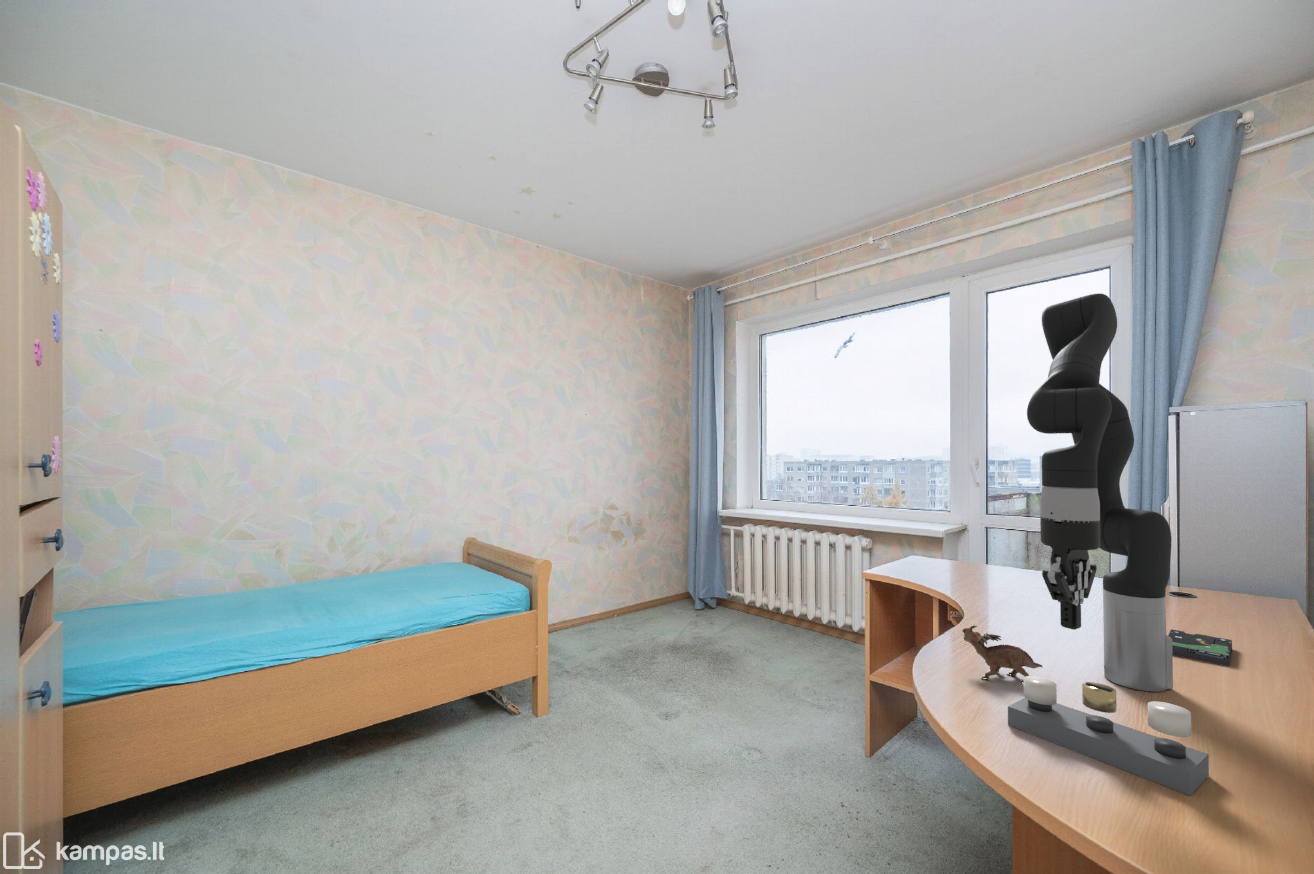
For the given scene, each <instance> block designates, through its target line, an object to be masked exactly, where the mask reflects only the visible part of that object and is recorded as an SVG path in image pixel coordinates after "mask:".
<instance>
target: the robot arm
mask: <svg viewBox="0 0 1314 874" xmlns="http://www.w3.org/2000/svg"><path fill="white" fill-rule="evenodd" d="M1041 326H1042V330H1043V335H1044V338H1045V341H1046V345H1047V347H1048V350H1049V354H1050V356H1051V359H1052V362H1051V364H1050V366H1049V371H1048V375H1047V379H1045V380H1044V381H1043V383H1041V385H1040V386H1039V387H1038V388H1037V389H1036V390H1035V391H1034V393H1033V394H1032V396H1031V397H1030V399H1029V401H1028V405H1027V408H1026V417H1027V421H1028V423H1029V425H1030V426H1031V427H1032V429H1034V430H1035V431H1037V432H1038V433H1042V434H1048V435H1050V434H1054V435H1055V434H1071V437H1072V440H1073V445H1070V446H1067V447H1060V448H1054V449H1049V450H1046V451H1045V452H1044V453H1043V454H1042V456H1041V493H1040V499H1039V500H1040V501H1039V503H1040V504H1039V512H1040V515H1039V516H1040V524H1039V525H1040V542H1041V544H1042V545H1044V546H1047V547H1050V548H1051V555H1050V559H1049V564H1050V565H1049V566H1050V569H1049V570H1048V569H1043V570H1042V573H1041V576H1042V578H1043V580H1044V583H1045V585H1046V587H1047V590H1048V592H1049V595H1050V597H1051V599H1052V600H1053V601H1057V602H1058V603H1060V607H1059V608H1060V626H1061V627H1062V628H1066V629H1070V630H1073V631H1074V630H1075V631H1076V630H1077V629H1080V628H1082V605H1083V604H1084V600H1085V599H1089V597H1090V596H1089V595H1090V593H1091V589H1092V586H1093V583H1094V579H1095V576H1096V572H1097V570H1098V567H1097V565H1096V564H1093V563H1091V561H1090V555H1089V551H1094V550H1098V549H1101V550H1102V551H1104V552H1107V553H1110V554H1114V555H1119V556H1125V557H1127V561H1126V567H1125V568H1124V569H1122V570H1120V571H1119V570H1118V571H1112V572H1107V573H1105V574H1104V575H1103V577H1102V604H1103V605H1102V606H1103V607H1102V608H1103V609H1102V610H1103V613H1102V614H1103V616H1102V619H1103V622H1102V623H1103V673H1104V677H1105V679H1106V680H1108V681H1110V682H1112V683H1114V684H1117V685H1119V686H1122V687H1125V688H1130V689H1133V690H1138V691H1145V692H1156V693H1157V692H1165V691H1166V690H1174V673H1173V672H1174V669H1173V667H1174V663H1173V662H1174V661H1173V656H1174V655H1173V654H1172V638H1171V637H1169V636H1168V635H1167V617H1166V616H1167V607H1166V606H1167V605H1166V591H1167V586H1168V583H1169V581H1170V577H1171V576H1170V575H1171V559H1172V558H1171V557H1172V556H1171V555H1172V531H1171V528H1170V524H1169V522H1168V520H1167V519H1166V517H1165V516H1163V515H1162V514H1161V513H1158V512H1157V511H1152V510H1146V509H1145V510H1144V509H1135V508H1126V507H1125V506H1124V505H1125V504H1124V503H1123V499H1122V493H1121V487H1120V486H1121V485H1120V482H1121V475H1123V471H1124V469H1125V467H1126V465H1127V464H1128V461H1129V460H1130V457H1131V455H1132V452H1133V449H1134V445H1135V436H1134V432H1133V427H1132V423H1131V420H1130V414H1129V411H1128V408H1127V406H1126V404H1124V402H1123V401H1122V400H1121V399H1119V398H1118V396H1116V395H1115V394H1114V393H1112V392H1111V391H1110V390H1109V389H1107V388H1106V387H1105V386H1103V385H1102V384H1101V383H1100V380H1101V379H1100V378H1101V369H1102V363H1103V361H1104V359H1105V357H1106V355H1107V353H1108V351H1109V349H1110V347H1111V345H1112V343H1113V341H1114V338H1115V337H1116V334H1117V330H1118V317H1117V312H1116V308H1115V306H1114V303H1113V302H1112V300H1111V298H1110V297H1109V296H1108V295H1107V294H1104V293H1093V294H1092V293H1091V294H1087V295H1083V296H1079V297H1076V298H1073V299H1069V300H1066V301H1062V302H1058V303H1056V304H1055V303H1054V304H1051V305H1050V306H1046V307H1045V308H1043V311H1042V314H1041Z"/></svg>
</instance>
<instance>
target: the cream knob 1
mask: <svg viewBox="0 0 1314 874" xmlns="http://www.w3.org/2000/svg"><path fill="white" fill-rule="evenodd" d="M1023 679H1024V684H1023V697H1024V698H1026V699H1027V700H1029V701H1032V702H1034V703H1038V704H1043V705H1055V704H1056V703H1058V702H1057V698H1058V697H1057V695H1058V693H1057V683H1056V682H1055V681H1053V680H1051V679H1049V678H1047V677H1046V678H1045V677H1042V676H1038V675H1037V676H1036V675H1029V676H1026V677H1024V676H1023Z"/></svg>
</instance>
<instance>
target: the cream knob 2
mask: <svg viewBox="0 0 1314 874" xmlns="http://www.w3.org/2000/svg"><path fill="white" fill-rule="evenodd" d="M1147 724H1148V726H1149V728H1151V729H1152V730H1154V731H1155V732H1156V731H1157V732H1158V733H1162V734H1165V735H1168V736H1172V737H1176V738H1177V737H1178V738H1189V737H1192V713H1191V711H1190V710H1189V709H1187V708H1184V707H1182V706H1180V705H1176V704H1172V703H1170V702H1165V701H1164V702H1163V701H1148V702H1147Z"/></svg>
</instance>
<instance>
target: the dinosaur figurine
mask: <svg viewBox="0 0 1314 874" xmlns="http://www.w3.org/2000/svg"><path fill="white" fill-rule="evenodd" d="M975 628H977V625H972V626H970V627H965V628H962V633H963V640H964V641H965V642H967V643H969V644H971V646H973V648H974V649H975V650H976V652H975V653H977V654H978V655H980V656H981V658H983V660H984V661H985V664H986V665H987V666H989V671H988V672H985V674H984V676H981V677H982V678H987V679H988V678H989V679H990V676H991V677H992V676H997V675H998V673H999V672H1000V670H1001V668H1003V669H1009V670H1010V669H1011V670H1012V671H1010V672H1008V673H1009V674H1011V675H1013V676H1017V674H1020V675H1022V676H1023V679H1021V680H1020V683H1021V682H1023V683H1024V677H1026V676H1030V674H1029V673H1028V672H1027V671H1026V669H1025V668H1024V667H1027V668H1030V669H1037V668H1043V664H1040V663H1039V662H1038V663H1037V662H1036V661H1034V660H1033V657H1031V655H1030V654H1029V653H1028V652H1027V651H1026V650H1024V649H1022V648H1021V647H1020V646H1015V645H1011V644H998V645H991V646H988V647H987V646H985V644H986V645H988V641H989V640H991V641H993V642H994V641H997V642H999V641H1002V639H1001V638H1002V636H1001V635H997V634H992V633H990V634H989V633H987V632H986V633H983V635H982V634H981V633H980V632H978V631H974V630H973V629H975ZM989 679H988V680H989Z"/></svg>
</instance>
